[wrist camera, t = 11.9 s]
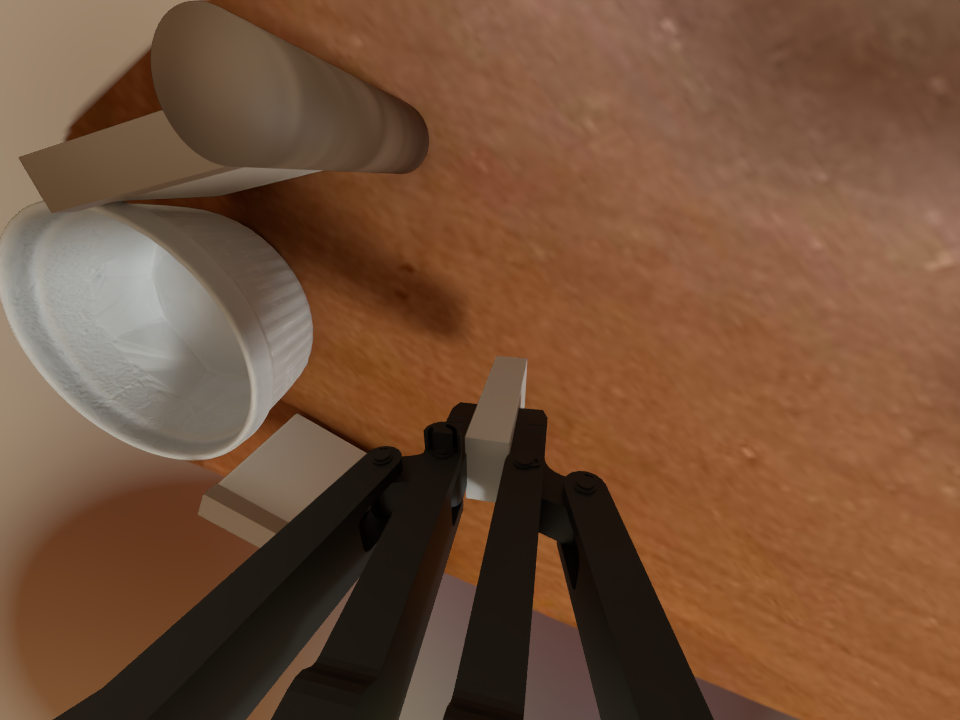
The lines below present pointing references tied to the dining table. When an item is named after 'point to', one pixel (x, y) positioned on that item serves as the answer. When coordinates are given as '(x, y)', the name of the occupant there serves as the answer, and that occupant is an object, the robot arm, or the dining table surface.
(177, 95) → the gate posts
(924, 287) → the dining table surface
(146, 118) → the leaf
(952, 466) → the dining table surface
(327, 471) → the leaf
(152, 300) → the ramekin
